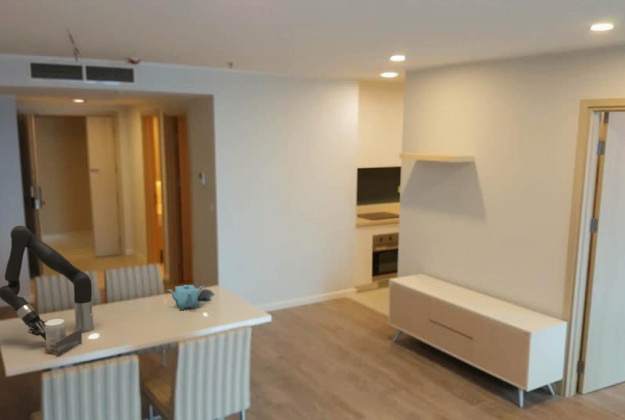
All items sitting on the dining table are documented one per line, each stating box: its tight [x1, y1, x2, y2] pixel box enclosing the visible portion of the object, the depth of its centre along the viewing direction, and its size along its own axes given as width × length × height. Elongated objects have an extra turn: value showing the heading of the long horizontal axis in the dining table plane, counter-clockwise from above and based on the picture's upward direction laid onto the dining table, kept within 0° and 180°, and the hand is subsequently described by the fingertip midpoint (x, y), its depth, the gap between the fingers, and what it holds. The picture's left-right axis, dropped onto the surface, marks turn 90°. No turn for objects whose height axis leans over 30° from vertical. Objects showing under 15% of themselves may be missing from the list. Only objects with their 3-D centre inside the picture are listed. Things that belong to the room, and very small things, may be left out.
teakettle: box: [166, 284, 205, 311], centre depth 342 cm, size 19×19×15 cm
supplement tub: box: [45, 318, 67, 348], centre depth 275 cm, size 10×10×15 cm
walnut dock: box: [44, 329, 83, 358], centre depth 274 cm, size 9×18×8 cm, turn 166°
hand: (48, 339), depth 276 cm, fingers closed
